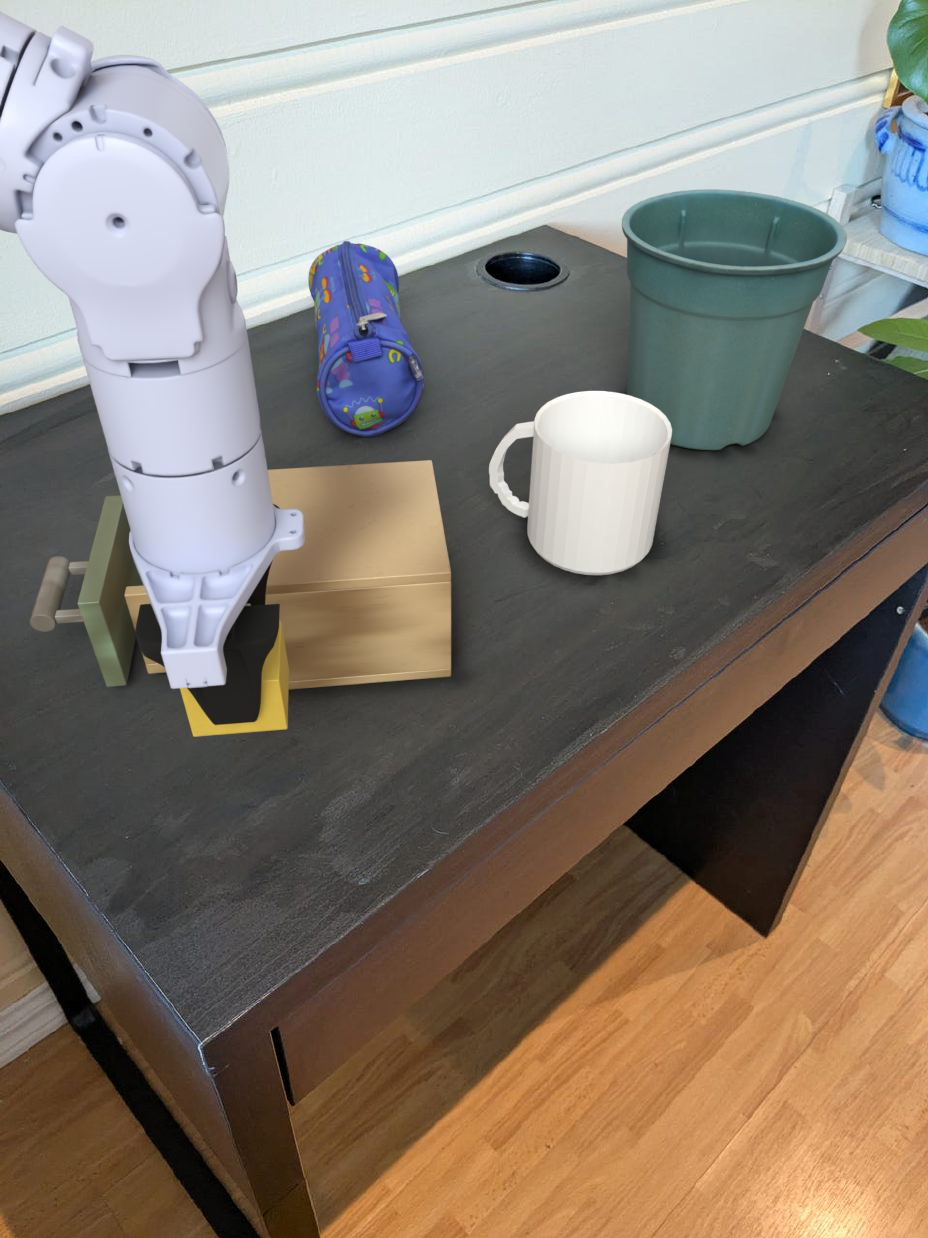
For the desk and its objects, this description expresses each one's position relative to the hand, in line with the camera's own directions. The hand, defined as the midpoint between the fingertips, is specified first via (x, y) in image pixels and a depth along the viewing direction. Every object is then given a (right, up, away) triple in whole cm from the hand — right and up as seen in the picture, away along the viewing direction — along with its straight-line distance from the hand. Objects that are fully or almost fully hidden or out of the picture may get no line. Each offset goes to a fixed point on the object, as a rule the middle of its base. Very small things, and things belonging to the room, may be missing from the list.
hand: (238, 682), depth 46 cm
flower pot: (+31, +20, +37) cm, 52 cm away
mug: (+19, +9, +25) cm, 32 cm away
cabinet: (+3, +3, +17) cm, 17 cm away
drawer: (-7, +3, +16) cm, 17 cm away
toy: (0, -1, +1) cm, 1 cm away
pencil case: (+2, +24, +41) cm, 48 cm away
